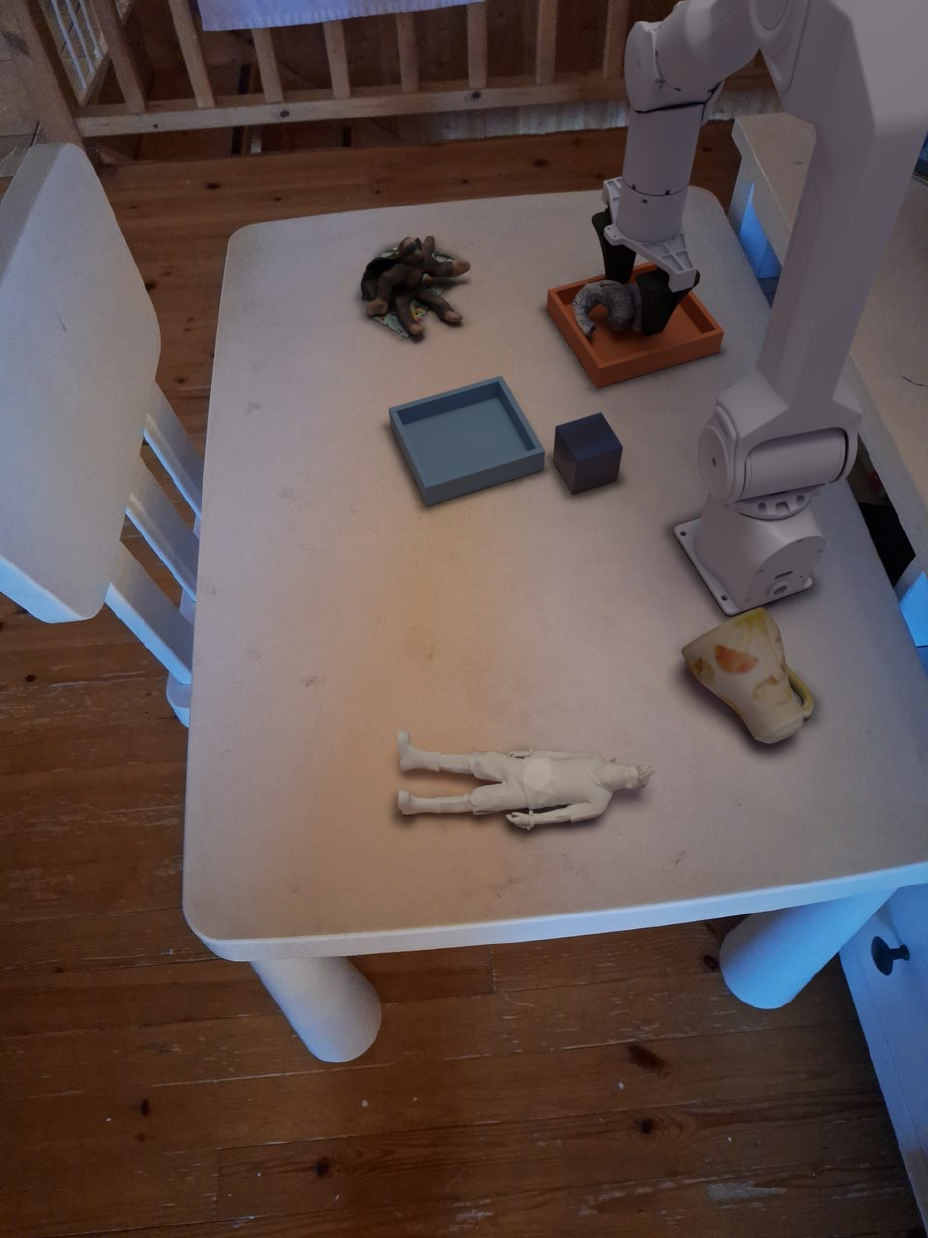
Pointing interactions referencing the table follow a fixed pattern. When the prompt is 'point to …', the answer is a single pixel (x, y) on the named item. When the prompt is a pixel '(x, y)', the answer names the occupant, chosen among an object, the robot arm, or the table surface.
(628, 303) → the grey curved piece
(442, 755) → the figurine
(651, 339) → the terracotta tray
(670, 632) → the table surface
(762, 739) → the mug
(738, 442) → the robot arm
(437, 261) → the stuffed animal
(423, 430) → the blue tray
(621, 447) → the blue block
